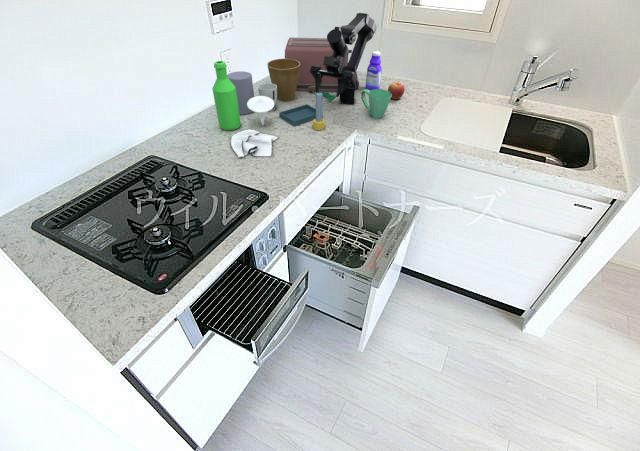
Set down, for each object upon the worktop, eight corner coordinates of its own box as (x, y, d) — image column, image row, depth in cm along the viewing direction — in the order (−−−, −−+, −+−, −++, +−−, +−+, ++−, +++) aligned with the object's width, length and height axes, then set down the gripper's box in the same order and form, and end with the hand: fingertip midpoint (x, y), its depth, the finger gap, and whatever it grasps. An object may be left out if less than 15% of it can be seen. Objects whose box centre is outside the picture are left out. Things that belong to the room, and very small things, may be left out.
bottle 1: (222, 133, 135) (210, 67, 118) (217, 124, 141) (204, 60, 124) (244, 128, 138) (234, 64, 122) (237, 120, 144) (228, 57, 127)
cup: (275, 113, 150) (273, 90, 143) (257, 111, 151) (255, 88, 144) (280, 106, 156) (279, 84, 149) (263, 104, 157) (261, 82, 150)
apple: (401, 94, 169) (404, 78, 164) (404, 101, 163) (407, 84, 158) (385, 94, 169) (387, 78, 163) (388, 101, 163) (390, 84, 158)
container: (259, 107, 155) (255, 72, 145) (249, 116, 147) (245, 80, 137) (238, 104, 157) (233, 70, 147) (228, 113, 149) (222, 78, 139)
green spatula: (307, 92, 169) (307, 82, 166) (310, 91, 170) (310, 81, 167) (336, 105, 157) (337, 95, 154) (339, 104, 158) (340, 94, 155)
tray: (307, 108, 154) (306, 104, 153) (322, 116, 148) (322, 112, 147) (279, 116, 147) (279, 112, 146) (294, 126, 141) (294, 121, 139)
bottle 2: (363, 88, 174) (367, 52, 163) (367, 85, 178) (371, 49, 166) (376, 91, 172) (381, 54, 160) (380, 88, 175) (385, 51, 164)
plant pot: (272, 92, 168) (269, 57, 158) (301, 93, 168) (301, 58, 158) (267, 104, 157) (264, 68, 147) (299, 105, 157) (298, 69, 147)
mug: (392, 116, 150) (396, 93, 143) (378, 122, 145) (382, 99, 138) (367, 106, 158) (369, 84, 151) (353, 112, 152) (355, 89, 146)
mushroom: (277, 129, 138) (275, 100, 130) (250, 131, 136) (246, 102, 128) (274, 119, 145) (272, 91, 138) (249, 120, 144) (245, 92, 136)
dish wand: (316, 124, 143) (316, 90, 133) (326, 126, 141) (327, 93, 132) (310, 128, 140) (310, 94, 130) (321, 131, 138) (321, 97, 129)
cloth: (247, 127, 139) (246, 122, 137) (291, 141, 131) (291, 135, 129) (212, 148, 126) (210, 142, 124) (258, 165, 118) (257, 159, 116)
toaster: (350, 92, 170) (353, 48, 157) (283, 90, 170) (280, 46, 157) (348, 79, 185) (351, 37, 171) (286, 77, 185) (284, 36, 171)
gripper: (311, 43, 132) (299, 80, 132) (356, 49, 126) (343, 89, 126) (319, 59, 143) (308, 94, 142) (361, 66, 137) (349, 102, 137)
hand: (326, 94), depth 137 cm, fingers open, 9 cm apart
